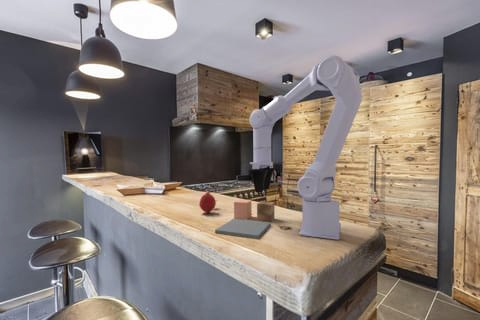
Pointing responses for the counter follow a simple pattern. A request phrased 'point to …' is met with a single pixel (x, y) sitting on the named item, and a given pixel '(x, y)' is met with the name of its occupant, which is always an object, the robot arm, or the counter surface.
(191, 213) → the counter surface
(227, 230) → the slate board
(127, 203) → the counter surface
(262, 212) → the walnut block
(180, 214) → the counter surface
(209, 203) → the onion
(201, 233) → the counter surface
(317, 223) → the robot arm
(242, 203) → the terracotta block
